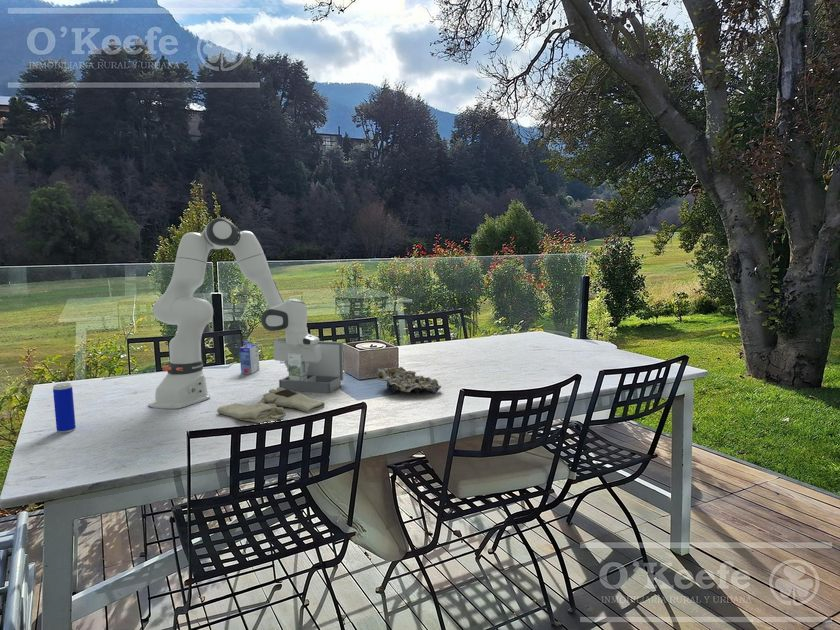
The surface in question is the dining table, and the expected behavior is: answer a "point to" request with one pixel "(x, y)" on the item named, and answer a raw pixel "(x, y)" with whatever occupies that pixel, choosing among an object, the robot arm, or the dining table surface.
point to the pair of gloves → (271, 406)
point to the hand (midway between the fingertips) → (297, 372)
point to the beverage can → (64, 407)
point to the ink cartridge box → (249, 358)
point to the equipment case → (321, 371)
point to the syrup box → (296, 367)
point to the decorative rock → (406, 380)
